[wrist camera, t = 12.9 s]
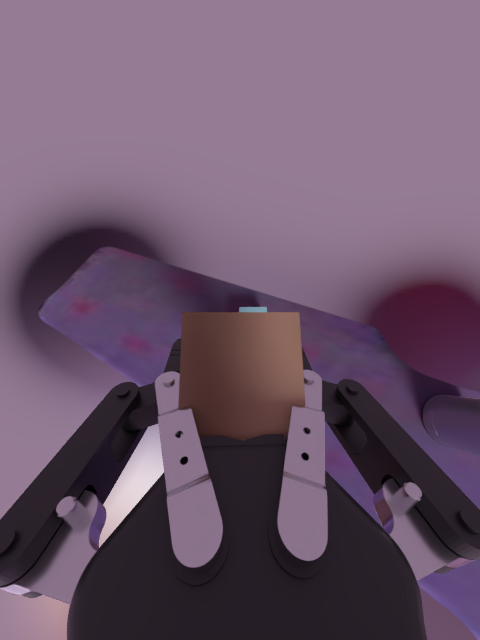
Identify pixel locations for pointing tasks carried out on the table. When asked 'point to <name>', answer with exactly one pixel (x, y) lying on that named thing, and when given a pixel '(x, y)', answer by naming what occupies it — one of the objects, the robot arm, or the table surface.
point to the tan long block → (241, 372)
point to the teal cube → (252, 309)
